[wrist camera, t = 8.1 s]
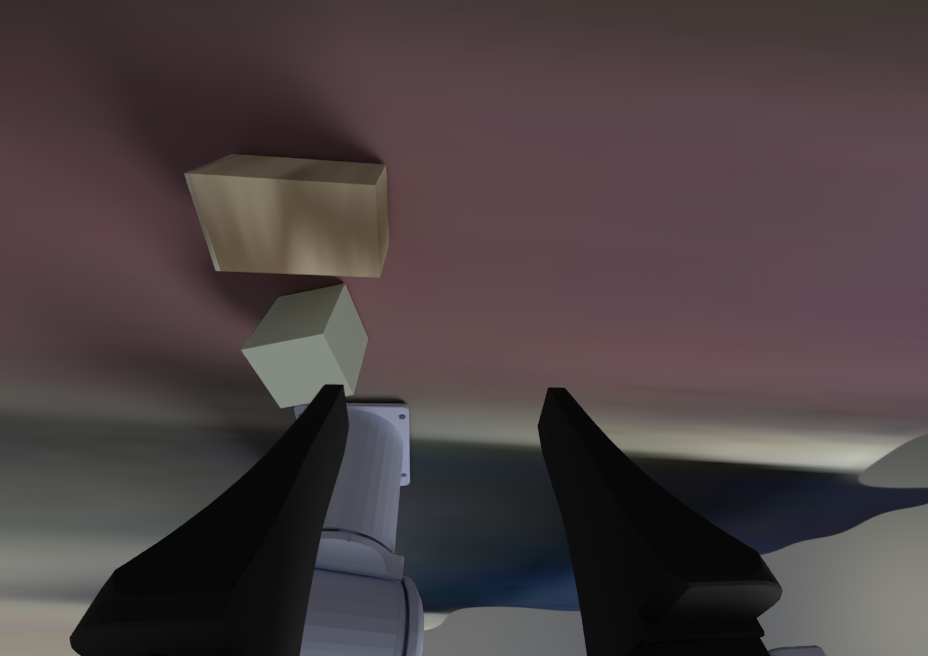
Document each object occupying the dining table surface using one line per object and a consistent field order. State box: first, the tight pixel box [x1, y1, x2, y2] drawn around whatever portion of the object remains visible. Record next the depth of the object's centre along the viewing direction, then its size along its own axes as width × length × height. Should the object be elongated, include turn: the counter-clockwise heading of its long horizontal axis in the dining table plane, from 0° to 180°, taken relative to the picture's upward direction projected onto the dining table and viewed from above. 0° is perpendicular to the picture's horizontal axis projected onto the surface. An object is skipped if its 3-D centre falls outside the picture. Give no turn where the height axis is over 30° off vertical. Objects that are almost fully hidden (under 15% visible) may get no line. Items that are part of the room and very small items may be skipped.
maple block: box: [184, 154, 389, 277], centre depth 17 cm, size 4×4×7 cm
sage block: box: [241, 284, 368, 408], centre depth 21 cm, size 4×4×5 cm
